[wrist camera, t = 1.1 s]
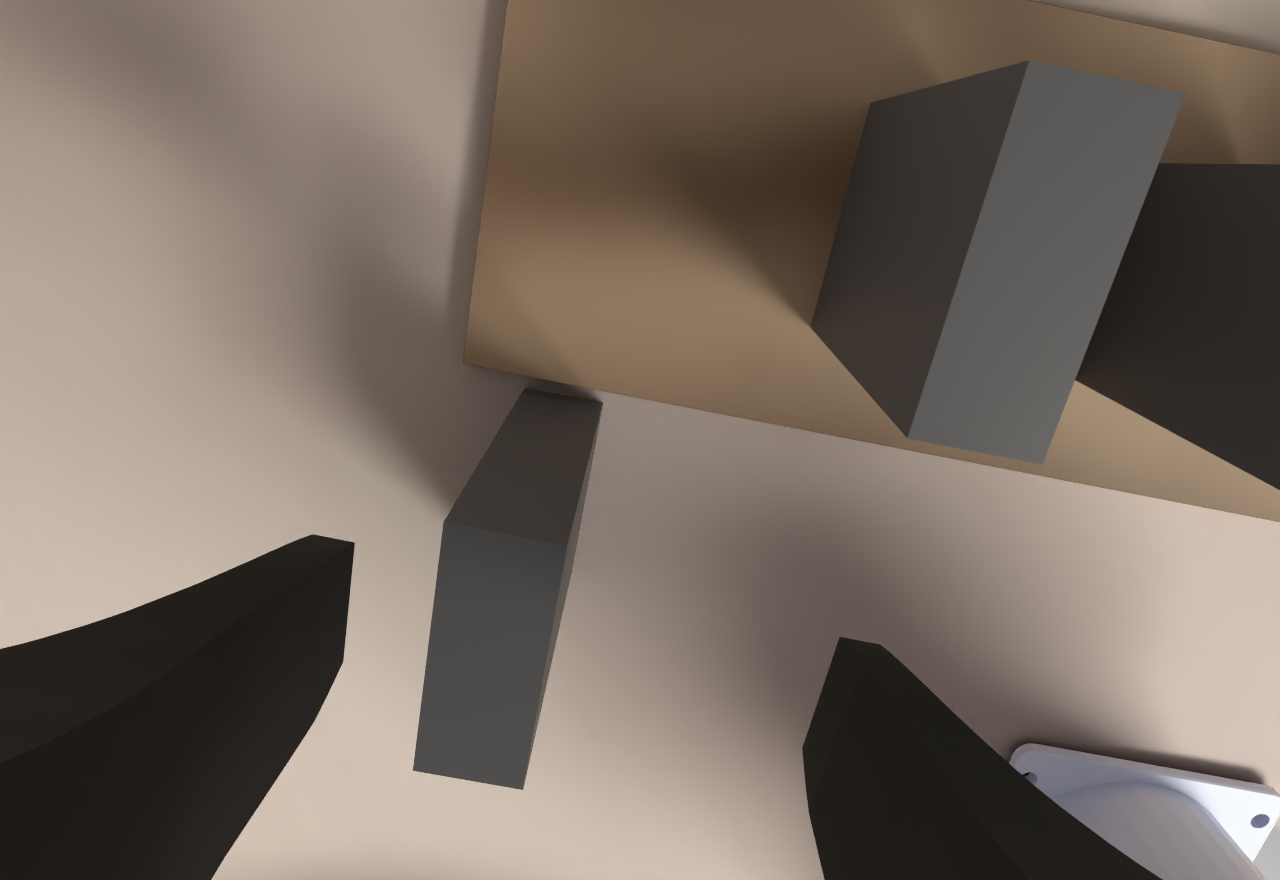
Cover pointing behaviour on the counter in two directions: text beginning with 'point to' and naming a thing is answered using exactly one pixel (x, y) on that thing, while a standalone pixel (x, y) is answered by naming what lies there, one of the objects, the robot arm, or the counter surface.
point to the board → (785, 202)
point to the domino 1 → (504, 591)
